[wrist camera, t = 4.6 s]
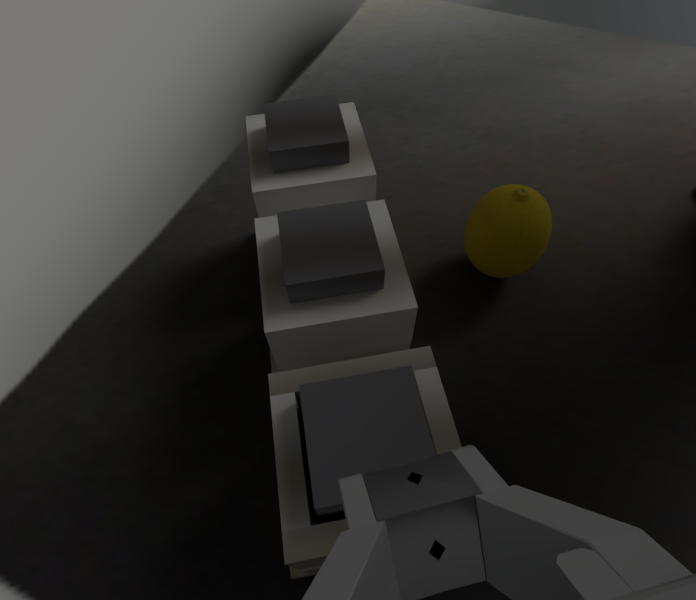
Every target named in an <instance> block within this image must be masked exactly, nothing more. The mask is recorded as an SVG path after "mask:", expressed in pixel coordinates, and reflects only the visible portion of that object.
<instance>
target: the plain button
mask: <svg viewBox="0 0 696 600" xmlns="http://www.w3.org/2000/svg"><path fill="white" fill-rule="evenodd" d="M299 391H300V399H301V407H302V415H303V423H304V430H305V438H306V446H307V454H308V462H309V470H310V478H311V486H312V494H313V502H314V509H315V511H316V513H317V515H318V516H319V518H320V520H321V522H322V523H327V522H332V521H337V520H342V519H346V517H345V512H344V508H343V503H342V498H341V494H340V489H339V484H338V479H341V478H345V477H348V476H352V475H356V474H361V475H362V473H365V472H369V471H373V470H377V469H382V468H386V467H390V466H394V465H399V464H403V463H410V462H413V461H417V460H420V459H424V458H427V457H431V456H434V455H436V453H435V449H434V445H433V442H432V438H431V435H430V431H429V428H428V424H427V420H426V417H425V413H424V410H423V406H422V403H421V399H420V395H419V392H418V388H417V385H416V381H415V378H414V374H413V370H412V367H411V365H410V366H405V367H399V368H393V369H388V370H382V371H376V372H371V373H365V374H359V375H354V376H348V377H342V378H337V379H331V380H325V381H320V382H314V383H308V384H303V385H299Z"/></svg>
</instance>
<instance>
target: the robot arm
mask: <svg viewBox="0 0 696 600" xmlns="http://www.w3.org/2000/svg"><path fill="white" fill-rule="evenodd" d="M338 484H339V489H340V494H341V498H342V503H343V508H344V512H345V517H346V522H347V526H348V530H346V531H343V532H341V533H340V535H339V537H338V539H337V540H336V542H335V544H334V545H333V547H332V549H331V551H330V552H329V554H328V556H327V557H326V559H325V561H324V563H323V564H322V566H321V568H320V569H319V571H318V573H317V574H316V576H315V578H314V580H313V581H312V583H311V585H310V586H309V588H308V590H307V592H306V593H305V595H304V597H303V598H302V600H419V599H422V598H425V597H428V596H431V595H434V594H437V593H440V592H443V591H447V590H451V589H455V588H459V587H462V586H466V585H470V584H474V583H478V582H482V581H486V580H487V582H488V583H489V584H490V585H492V586H493V587H495V588H496V589H498V590H499V591H500V592H502V593H503V594H505V595H506V596H507V597H509V598H510V599H512V600H696V573H695V574H692V573H691V572H690V571H689V570H688V569H686V568H685V567H684V566H683V565H682V564H681V563H680V562H678V561H677V560H676V559H675V558H674V557H673V556H672V555H670V554H669V553H668V552H667V551H666V550H665V549H664V548H662V547H661V546H660V545H659V544H658V543H657V542H656V541H654V540H653V539H652V538H651V537H650V536H649V535H648V534H646V533H645V532H644V531H643V530H642V529H640V528H638V527H635V526H632V525H629V524H626V523H623V522H620V521H618V520H615V519H612V518H609V517H606V516H603V515H600V514H598V513H595V512H592V511H589V510H586V509H583V508H580V507H578V506H575V505H572V504H569V503H566V502H563V501H561V500H558V499H555V498H552V497H549V496H546V495H543V494H541V493H538V492H535V491H532V490H529V489H526V488H523V487H521V486H518V485H513V486H508V485H507V484H506V482H505V481H504V480H503V479H502V478H501V477H500V475H499V474H498V473H497V472H496V471H495V470H494V468H493V467H492V466H491V465H490V464H489V463H488V461H487V460H486V459H485V458H484V457H483V455H482V454H481V453H480V452H479V451H478V450H477V448H476V447H475V446H473V445H468V446H464V447H461V448H458V449H454V450H451V451H449V452H445V453H441V454H438V455H434V456H431V457H427V458H424V459H420V460H417V461H413V462H410V463H403V464H399V465H394V466H390V467H386V468H382V469H377V470H373V471H369V472H365V473H362V475H361V474H356V475H352V476H348V477H345V478H341V479H338Z"/></svg>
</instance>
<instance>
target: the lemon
mask: <svg viewBox="0 0 696 600" xmlns="http://www.w3.org/2000/svg"><path fill="white" fill-rule="evenodd" d="M551 229H552V217H551V211H550V208H549V206H548V203H547V202H546V200H545V199H544V198H543V197H542V195H540V194H539V193H538V192H537V191H535V190H534V189H532V188H530V187H527V186H524V185H518V184H511V185H504V186H500V187H498V188H495V189H493V190H491V191H490V192H488V193H487V194H486V195H485V196H484V197H482V198H481V199H480V201H479V202H478V203H477V205H476V206H475V208H474V209H473V211H472V213H471V214H470V216H469V219H468V221H467V225H466V229H465V234H464V242H465V250H466V253H467V256H468V258H469V260H470V261H471V263H472V264H473V265H474V266H475V267H476V268H477V269H478V270H479V271H481V272H482V273H484V274H486V275H488V276H491V277H495V278H510V277H514V276H517V275H520V274H522V273H524V272H525V271H527V270H528V269H530V268H531V267H532V266H534V265H535V263H536V262H537V261H538V260H539V258H540V257H541V256H542V254H543V253H544V251H545V249H546V247H547V244H548V241H549V238H550V234H551Z"/></svg>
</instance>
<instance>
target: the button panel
mask: <svg viewBox="0 0 696 600" xmlns="http://www.w3.org/2000/svg"><path fill="white" fill-rule="evenodd" d="M263 107H264V114H260V115H253V116H246V127H247V138H248V150H249V161H250V173H251V184H252V193H253V197H254V201H255V204H256V208H257V212H258V215H259V218H255V230H256V241H257V253H258V264H259V276H260V287H261V299H262V310H263V322H264V333H265V336H266V338H267V341H268V344H269V349H270V360H271V371H272V373H271V374H268V379H269V391H270V402H271V414H272V425H273V437H274V448H275V460H276V471H277V483H278V494H279V506H280V517H281V529H282V540H283V551H284V563H285V565H287V566H290V577H291V579H298V578H303V577H307V576H312V575H316V574H317V573H318V571H319V569H320V568H321V566H322V564H323V563H324V561H325V559H326V557H327V556H328V554H329V552H330V551H331V549H332V547H333V545H334V544H335V542H336V540H337V539H338V537H339V535H340V533H341V532H343V531H346V530H348V526H347V522H346V519H342V520H337V521H332V522H327V523H322V522H321V520H320V518H319V516H318V515H317V513H316V511H315V509H314V502H313V494H312V486H311V478H310V470H309V462H308V454H307V446H306V438H305V430H304V423H303V415H302V407H301V399H300V391H299V385H303V384H308V383H314V382H320V381H325V380H331V379H337V378H342V377H348V376H354V375H359V374H365V373H371V372H376V371H382V370H388V369H393V368H399V367H405V366H410V365H411V367H412V370H413V374H414V378H415V381H416V385H417V388H418V392H419V395H420V399H421V403H422V406H423V410H424V413H425V417H426V420H427V424H428V428H429V431H430V435H431V438H432V442H433V445H434V449H435V453H436V455H438V454H441V453H445V452H449V451H451V450H454V449H458V448H461V447H462V446H461V443H460V439H459V436H458V433H457V430H456V427H455V424H454V420H453V417H452V414H451V411H450V408H449V404H448V401H447V398H446V395H445V392H444V388H443V385H442V382H441V379H440V376H439V373H438V369H437V366H436V363H435V360H434V357H433V353H432V350H431V347H430V346H426V347H420V348H414V349H410V346H411V341H412V335H413V330H414V325H415V320H416V315H417V310H418V306H417V302H416V299H415V296H414V293H413V290H412V286H411V283H410V280H409V277H408V274H407V270H406V267H405V264H404V261H403V258H402V255H401V251H400V248H399V245H398V242H397V239H396V235H395V232H394V229H393V226H392V223H391V219H390V216H389V213H388V210H387V207H386V203H385V200H377V201H376V172H375V168H374V165H373V162H372V159H371V156H370V152H369V149H368V146H367V143H366V140H365V136H364V133H363V130H362V127H361V124H360V121H359V117H358V114H357V111H356V108H355V105H354V102H352V103H344V104H339V103H338V100H337V96H336V95H330V96H323V97H315V98H307V99H299V100H292V101H284V102H276V103H269V104H263Z"/></svg>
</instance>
